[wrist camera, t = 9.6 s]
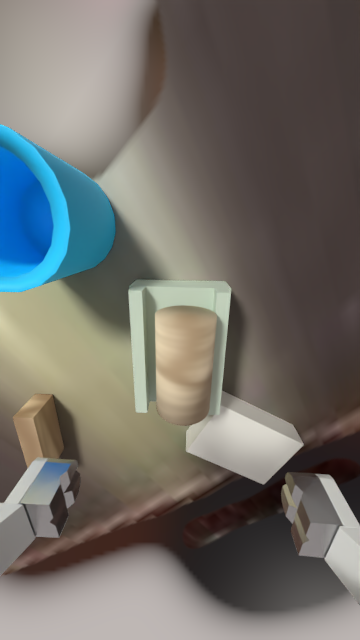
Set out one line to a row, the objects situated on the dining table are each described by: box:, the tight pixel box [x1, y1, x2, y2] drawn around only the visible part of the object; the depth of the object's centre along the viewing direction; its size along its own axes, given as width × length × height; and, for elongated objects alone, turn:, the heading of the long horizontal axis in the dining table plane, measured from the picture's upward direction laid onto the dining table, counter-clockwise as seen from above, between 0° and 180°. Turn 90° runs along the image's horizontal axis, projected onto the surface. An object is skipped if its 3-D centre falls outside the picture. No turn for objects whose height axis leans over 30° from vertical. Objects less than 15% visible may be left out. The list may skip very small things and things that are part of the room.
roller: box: [155, 305, 217, 426], centre depth 18 cm, size 4×8×4 cm, turn 179°
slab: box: [186, 391, 304, 484], centre depth 26 cm, size 10×7×3 cm
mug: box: [0, 124, 116, 292], centre depth 15 cm, size 12×8×8 cm
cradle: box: [128, 279, 231, 415], centre depth 21 cm, size 8×11×4 cm
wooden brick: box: [13, 394, 64, 468], centre depth 25 cm, size 2×8×4 cm, turn 179°
